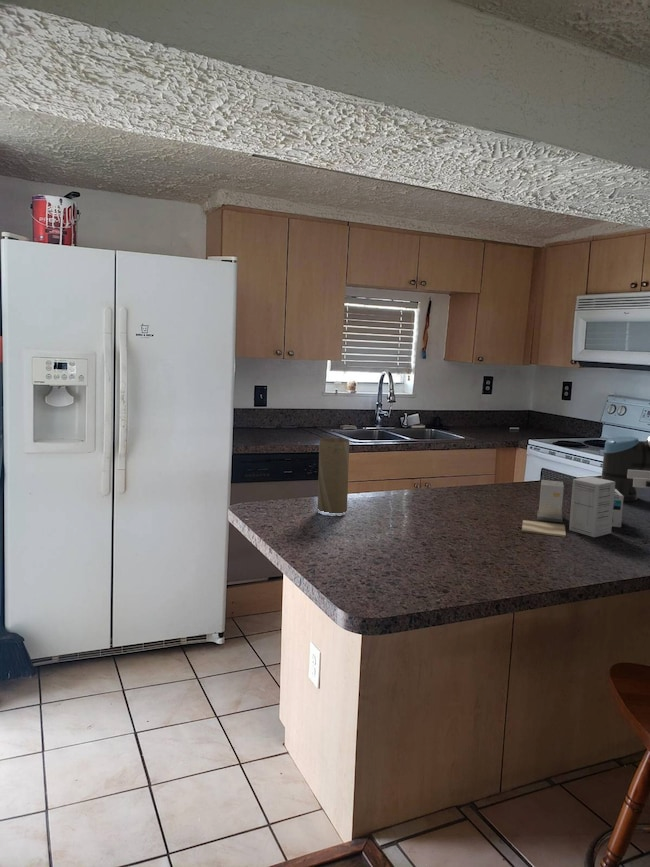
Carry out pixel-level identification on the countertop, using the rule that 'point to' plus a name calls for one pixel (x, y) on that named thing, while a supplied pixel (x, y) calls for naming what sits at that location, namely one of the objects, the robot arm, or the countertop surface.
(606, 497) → the supplement box
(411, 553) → the countertop surface
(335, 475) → the tube
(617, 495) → the light bulb box
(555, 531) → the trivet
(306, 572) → the countertop surface
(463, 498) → the countertop surface
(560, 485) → the unit
